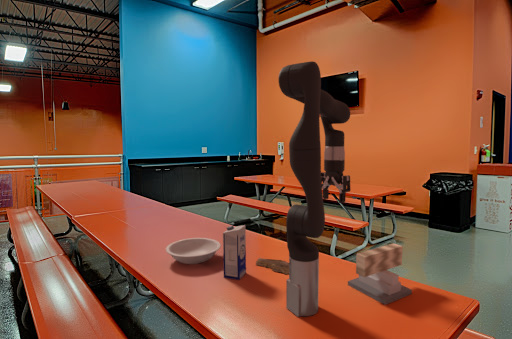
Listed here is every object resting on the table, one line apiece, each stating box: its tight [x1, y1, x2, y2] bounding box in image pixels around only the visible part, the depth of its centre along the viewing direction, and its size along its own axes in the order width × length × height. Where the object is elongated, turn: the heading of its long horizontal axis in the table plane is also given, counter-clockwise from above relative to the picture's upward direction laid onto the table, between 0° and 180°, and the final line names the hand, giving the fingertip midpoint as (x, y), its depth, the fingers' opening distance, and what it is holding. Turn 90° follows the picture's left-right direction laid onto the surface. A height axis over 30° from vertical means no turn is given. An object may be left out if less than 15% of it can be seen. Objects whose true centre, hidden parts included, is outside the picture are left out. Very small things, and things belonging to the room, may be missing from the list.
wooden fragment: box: [255, 257, 289, 276], centre depth 130 cm, size 26×11×1 cm, turn 48°
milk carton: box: [222, 224, 247, 281], centre depth 122 cm, size 7×7×20 cm
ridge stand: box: [347, 269, 413, 306], centre depth 110 cm, size 14×16×8 cm
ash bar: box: [355, 242, 404, 277], centre depth 110 cm, size 20×4×7 cm, turn 120°
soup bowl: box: [165, 237, 222, 265], centre depth 138 cm, size 24×24×7 cm
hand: (333, 200), depth 118 cm, fingers open, 8 cm apart
